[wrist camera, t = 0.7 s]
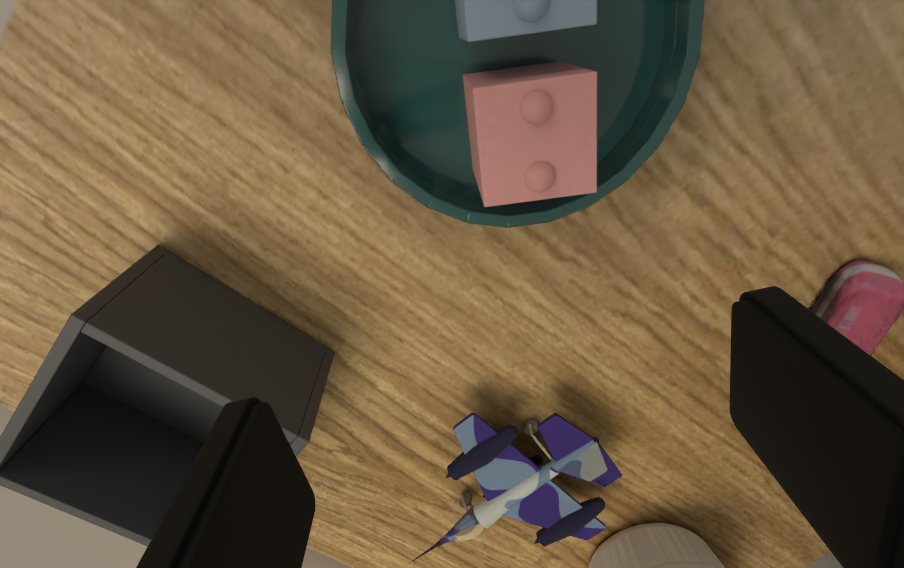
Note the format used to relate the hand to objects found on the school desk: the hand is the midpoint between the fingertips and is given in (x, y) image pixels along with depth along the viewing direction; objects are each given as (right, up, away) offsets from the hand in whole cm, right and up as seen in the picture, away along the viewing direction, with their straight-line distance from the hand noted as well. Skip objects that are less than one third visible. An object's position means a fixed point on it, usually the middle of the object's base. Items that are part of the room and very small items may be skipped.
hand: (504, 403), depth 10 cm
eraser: (+22, -1, +22) cm, 31 cm away
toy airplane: (+3, -10, +25) cm, 27 cm away
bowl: (+2, +13, +14) cm, 19 cm away
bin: (-16, -2, +21) cm, 26 cm away
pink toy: (+2, +10, +14) cm, 18 cm away
